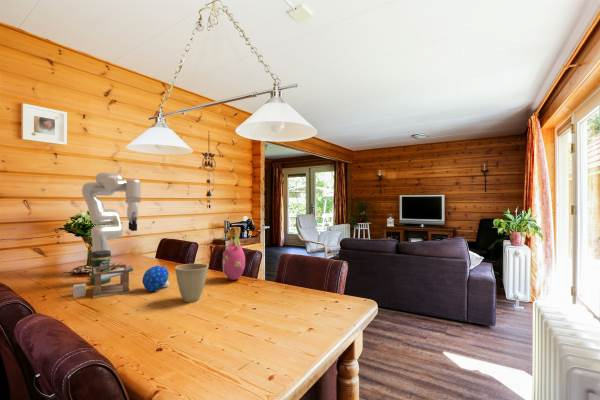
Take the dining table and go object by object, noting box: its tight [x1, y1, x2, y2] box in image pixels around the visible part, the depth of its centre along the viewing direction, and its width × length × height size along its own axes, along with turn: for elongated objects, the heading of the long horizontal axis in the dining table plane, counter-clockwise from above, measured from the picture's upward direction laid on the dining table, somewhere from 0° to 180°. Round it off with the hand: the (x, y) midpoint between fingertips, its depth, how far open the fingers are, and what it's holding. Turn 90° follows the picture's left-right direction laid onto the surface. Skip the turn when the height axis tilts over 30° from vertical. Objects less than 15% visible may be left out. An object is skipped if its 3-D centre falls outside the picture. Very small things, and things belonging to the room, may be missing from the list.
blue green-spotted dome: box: [141, 265, 170, 292], centre depth 163 cm, size 14×14×15 cm
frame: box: [92, 263, 131, 299], centre depth 160 cm, size 20×16×12 cm
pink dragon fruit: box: [221, 229, 246, 281], centre depth 184 cm, size 18×14×30 cm
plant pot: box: [175, 263, 209, 303], centre depth 147 cm, size 15×15×16 cm
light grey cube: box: [72, 282, 87, 298], centre depth 153 cm, size 5×5×5 cm
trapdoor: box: [101, 265, 134, 281], centre depth 161 cm, size 12×16×2 cm
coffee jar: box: [89, 250, 112, 286], centre depth 175 cm, size 10×8×19 cm
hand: (132, 230), depth 177 cm, fingers open, 9 cm apart
